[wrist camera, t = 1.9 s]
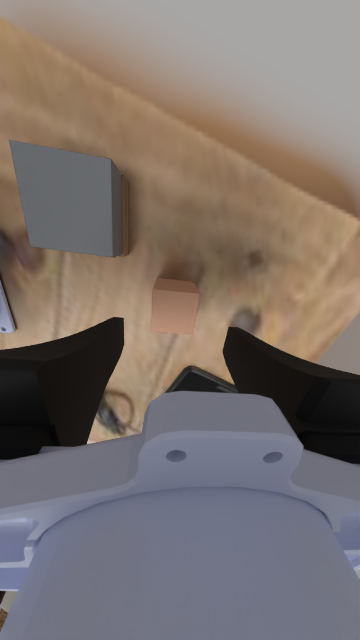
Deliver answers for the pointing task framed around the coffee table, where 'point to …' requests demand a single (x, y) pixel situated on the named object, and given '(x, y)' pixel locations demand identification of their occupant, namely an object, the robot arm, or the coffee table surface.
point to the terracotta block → (174, 306)
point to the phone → (200, 382)
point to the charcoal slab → (69, 199)
